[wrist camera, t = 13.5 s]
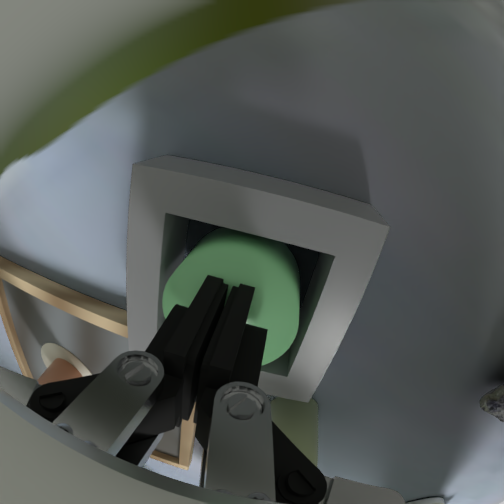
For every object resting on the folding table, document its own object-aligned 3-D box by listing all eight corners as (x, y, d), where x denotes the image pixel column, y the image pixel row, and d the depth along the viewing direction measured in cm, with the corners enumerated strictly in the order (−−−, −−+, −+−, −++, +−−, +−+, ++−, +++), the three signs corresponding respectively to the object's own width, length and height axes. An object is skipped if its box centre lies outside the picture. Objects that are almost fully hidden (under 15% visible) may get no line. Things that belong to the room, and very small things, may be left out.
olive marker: (327, 397, 17) (326, 531, 9) (309, 426, 18) (301, 542, 10) (274, 388, 17) (253, 525, 9) (262, 417, 18) (239, 535, 10)
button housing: (370, 204, 12) (390, 226, 9) (309, 361, 16) (308, 402, 13) (166, 154, 12) (132, 163, 10) (152, 318, 16) (129, 352, 13)
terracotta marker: (82, 367, 19) (19, 454, 10) (89, 394, 20) (37, 473, 12) (49, 350, 19) (-15, 426, 11) (58, 377, 20) (4, 449, 12)
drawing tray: (211, 338, 16) (205, 352, 15) (191, 460, 23) (187, 470, 22) (-3, 254, 17) (-13, 260, 16) (39, 391, 24) (33, 397, 23)
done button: (314, 242, 12) (318, 276, 9) (282, 336, 14) (277, 380, 11) (196, 212, 12) (167, 237, 10) (183, 309, 14) (160, 347, 12)
